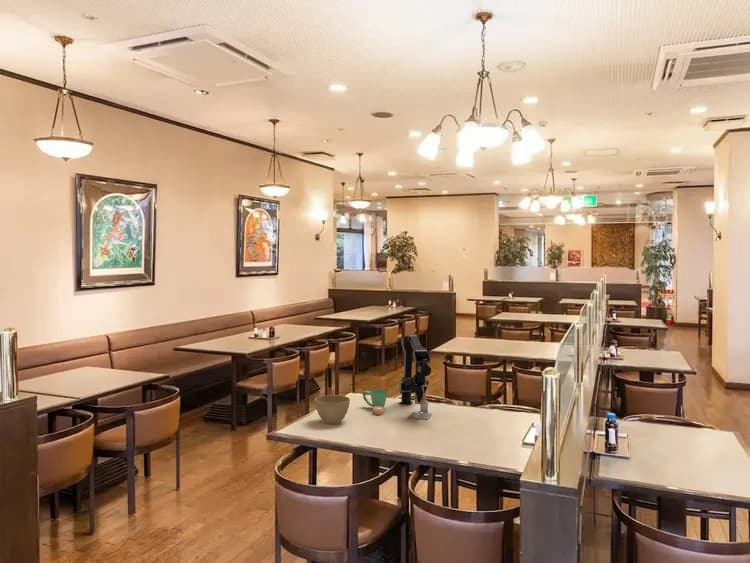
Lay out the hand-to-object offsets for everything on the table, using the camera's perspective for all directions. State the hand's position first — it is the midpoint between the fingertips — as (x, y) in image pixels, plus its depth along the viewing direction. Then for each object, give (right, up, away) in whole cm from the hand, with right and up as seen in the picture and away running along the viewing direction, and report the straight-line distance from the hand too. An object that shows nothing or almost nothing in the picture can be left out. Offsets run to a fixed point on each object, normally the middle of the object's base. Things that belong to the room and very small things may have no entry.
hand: (420, 401), depth 307 cm
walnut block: (0, -1, 0) cm, 1 cm away
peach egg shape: (-23, -8, +5) cm, 24 cm away
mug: (-24, -8, +16) cm, 30 cm away
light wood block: (+3, -8, +10) cm, 13 cm away
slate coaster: (0, -8, 0) cm, 8 cm away
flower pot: (-46, -9, -12) cm, 49 cm away
